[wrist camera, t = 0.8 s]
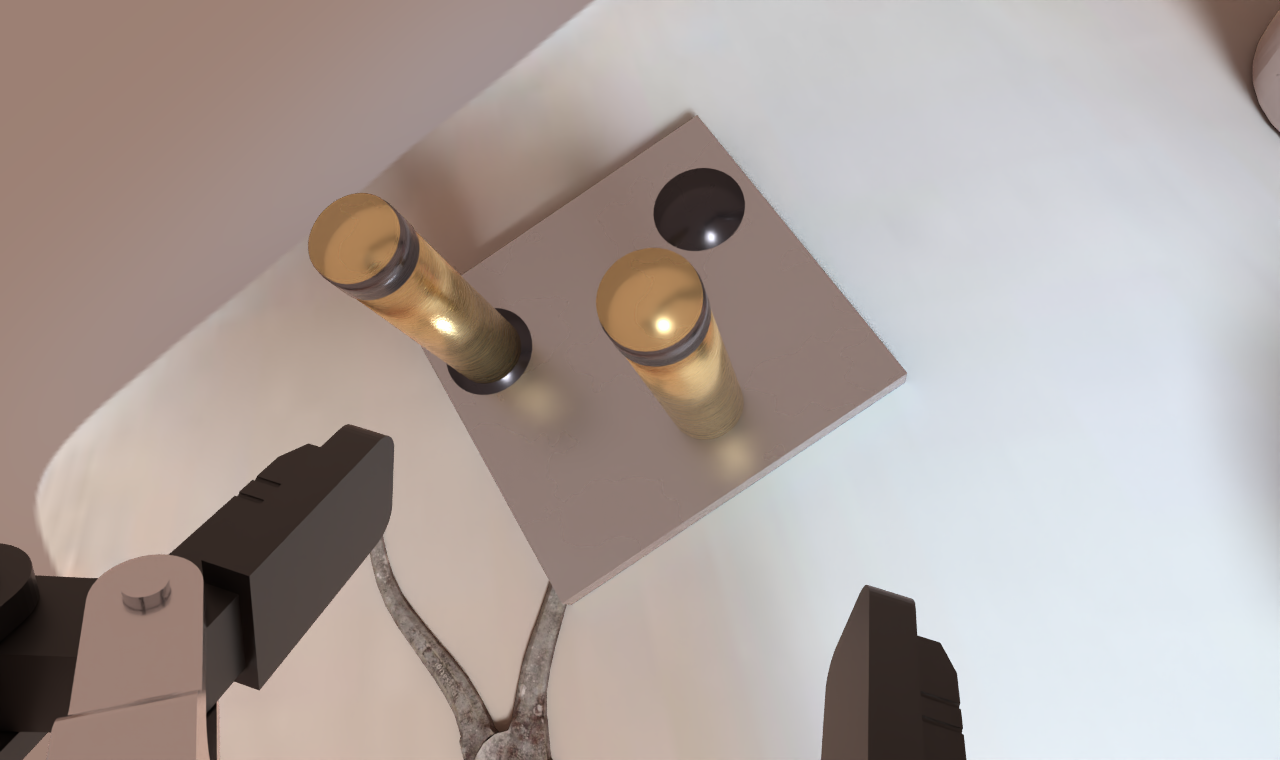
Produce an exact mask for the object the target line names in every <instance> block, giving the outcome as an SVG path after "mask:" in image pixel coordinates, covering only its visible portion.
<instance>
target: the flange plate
mask: <svg viewBox="0 0 1280 760" xmlns="http://www.w3.org/2000/svg"><path fill="white" fill-rule="evenodd" d="M645 248H662V249H667V250H670V251H673V252H675V253H677V254H679V255H681V256H682V257H684V258H685V259H686V260H687V261H688V262H689V263H690V264H691V265H692V266H693V267H694V268H695V269H696V271H697V272H698V274H699V275H700V278H701V280H702V282H703V285H704V288H705V290H706V293H707V296H708V298H709V302H710V307H711V311H712V314H713V316H714V319H715V322H716V324H717V327H718V330H719V332H720V335H721V337H722V340H723V343H724V345H725V348H726V351H727V353H728V356H729V359H730V361H731V364H732V367H733V369H734V372H735V374H736V377H737V380H738V382H739V385H740V388H741V390H742V394H743V400H744V405H743V411H742V414H741V417H740V419H739V421H738V422H737V424H736V425H735V426H734V427H733V428H732V429H731V430H730V431H729V432H728V433H726V434H724V435H723V436H720V437H718V438H714V439H709V440H701V439H696V438H692V437H690V436H688V435H686V434H684V433H683V432H682V431H681V430H680V429H679V428H678V427H677V426H676V425H675V423H674V422H673V421H672V419H671V418H670V417H669V415H668V414H667V413H666V411H665V410H664V408H663V407H662V406H661V404H660V403H659V402H658V400H657V399H656V398H655V396H654V395H653V394H652V392H651V391H650V390H649V388H648V387H647V386H646V384H645V383H644V381H643V380H642V379H641V377H640V376H639V375H638V373H637V372H636V371H635V369H634V368H633V367H632V365H631V364H630V363H629V361H628V360H627V359H626V357H625V356H624V355H623V354H621V353H620V352H619V350H618V349H617V348H616V346H615V345H614V344H613V342H612V341H611V340H610V338H609V337H608V336H607V334H606V333H605V332H604V330H603V328H602V326H601V324H600V321H599V318H598V314H597V310H596V296H597V290H598V287H599V284H600V282H601V280H602V278H603V276H604V275H605V273H606V272H607V270H608V269H609V268H610V267H611V266H612V265H613V264H614V263H615V262H616V261H617V260H619V259H620V258H622V257H623V256H625V255H627V254H629V253H631V252H633V251H636V250H640V249H645ZM461 276H462V277H463V278H464V279H465V280H466V281H467V282H468V283H469V284H470V285H471V286H472V287H473V288H474V289H475V290H476V291H477V292H478V293H479V294H480V295H481V296H482V297H483V298H484V299H485V300H486V301H487V302H488V303H490V304H491V305H492V306H493V307H494V308H495V309H496V310H497V311H498V312H499V313H500V314H501V315H502V316H503V317H504V318H505V319H506V320H507V321H508V322H509V323H510V324H511V325H512V326H513V327H514V328H515V329H516V331H517V332H518V334H519V337H520V340H521V353H520V357H519V360H518V362H517V364H516V366H515V367H514V369H513V370H512V371H511V372H510V373H509V374H508V375H507V376H506V377H504V378H502V379H501V380H499V381H496V382H493V383H488V384H481V383H476V382H473V381H471V380H469V379H468V378H466V377H465V376H464V375H462V374H461V373H459V372H458V371H457V370H455V369H454V368H452V367H451V366H450V365H448V364H447V363H445V362H444V361H443V360H441V359H440V358H438V357H437V356H436V355H434V354H433V353H431V352H430V351H429V350H427V349H426V348H424V347H423V346H422V345H421V347H422V348H423V350H424V352H425V354H426V356H427V358H428V359H429V361H430V363H431V365H432V367H433V369H434V370H435V372H436V374H437V376H438V378H439V379H440V381H441V383H442V385H443V387H444V389H445V390H446V392H447V394H448V396H449V398H450V400H451V401H452V403H453V405H454V407H455V409H456V411H457V412H458V414H459V416H460V418H461V420H462V422H463V423H464V425H465V427H466V429H467V431H468V433H469V434H470V436H471V438H472V440H473V442H474V444H475V445H476V447H477V449H478V451H479V453H480V455H481V456H482V458H483V460H484V462H485V464H486V466H487V467H488V469H489V471H490V473H491V475H492V476H493V478H494V480H495V482H496V484H497V486H498V487H499V489H500V491H501V493H502V495H503V497H504V498H505V500H506V502H507V504H508V506H509V508H510V509H511V511H512V513H513V515H514V517H515V519H516V520H517V522H518V524H519V526H520V528H521V530H522V531H523V533H524V535H525V537H526V539H527V541H528V542H529V544H530V546H531V548H532V550H533V552H534V553H535V555H536V557H537V559H538V561H539V563H540V564H541V566H542V568H543V570H544V572H545V573H546V575H547V577H548V579H549V581H550V583H551V584H552V586H553V588H554V590H555V592H556V594H557V595H558V597H559V599H560V601H561V603H562V604H568V605H572V604H573V603H575V602H576V601H578V600H579V599H581V598H582V597H584V596H585V595H587V594H588V593H590V592H591V591H593V590H594V589H596V588H597V587H599V586H600V585H602V584H603V583H605V582H606V581H608V580H609V579H611V578H612V577H614V576H615V575H617V574H618V573H620V572H621V571H623V570H624V569H626V568H627V567H629V566H630V565H632V564H633V563H635V562H636V561H638V560H639V559H641V558H642V557H644V556H645V555H647V554H648V553H650V552H651V551H653V550H654V549H656V548H657V547H659V546H660V545H662V544H663V543H665V542H666V541H668V540H669V539H671V538H672V537H674V536H675V535H677V534H678V533H680V532H681V531H683V530H684V529H686V528H687V527H689V526H690V525H692V524H693V523H695V522H696V521H698V520H699V519H701V518H702V517H704V516H705V515H707V514H708V513H710V512H711V511H713V510H714V509H716V508H717V507H719V506H720V505H722V504H723V503H725V502H726V501H728V500H729V499H731V498H732V497H734V496H735V495H737V494H738V493H740V492H741V491H743V490H744V489H746V488H747V487H749V486H750V485H752V484H753V483H755V482H756V481H758V480H759V479H761V478H762V477H764V476H765V475H767V474H768V473H770V472H771V471H773V470H774V469H776V468H777V467H779V466H780V465H782V464H783V463H785V462H786V461H788V460H789V459H791V458H792V457H794V456H795V455H797V454H798V453H800V452H801V451H803V450H804V449H806V448H807V447H809V446H810V445H812V444H813V443H815V442H816V441H818V440H819V439H821V438H822V437H824V436H825V435H827V434H828V433H830V432H831V431H833V430H834V429H836V428H837V427H839V426H840V425H842V424H843V423H845V422H846V421H848V420H849V419H851V418H852V417H854V416H855V415H857V414H858V413H860V412H861V411H863V410H864V409H866V408H867V407H869V406H870V405H872V404H873V403H875V402H876V401H878V400H879V399H881V398H882V397H884V396H885V395H887V394H888V393H890V392H891V391H893V390H894V389H896V388H897V387H899V386H900V385H902V384H903V383H905V380H906V376H907V372H906V371H905V370H904V369H903V367H902V366H901V365H900V364H899V363H898V361H897V360H896V359H895V358H894V356H893V355H892V354H891V353H890V351H889V350H888V349H887V348H886V347H885V345H884V344H883V343H882V342H881V340H880V339H879V338H878V337H877V336H876V334H875V333H874V332H873V331H872V329H871V328H870V327H869V326H868V324H867V323H866V322H865V321H864V320H863V318H862V317H861V316H860V315H859V313H858V312H857V311H856V310H855V309H854V307H853V306H852V305H851V304H850V302H849V301H848V300H847V299H846V297H845V296H844V295H843V294H842V293H841V291H840V290H839V289H838V288H837V286H836V285H835V284H834V283H833V282H832V280H831V279H830V278H829V277H828V275H827V274H826V273H825V272H824V271H823V269H822V268H821V267H820V266H819V264H818V263H817V262H816V261H815V259H814V258H813V257H812V256H811V255H810V253H809V252H808V251H807V250H806V248H805V247H804V246H803V245H802V244H801V242H800V241H799V240H798V239H797V237H796V236H795V235H794V234H793V232H792V231H791V230H790V229H789V228H788V226H787V225H786V224H785V223H784V221H783V220H782V219H781V218H780V217H779V215H778V214H777V213H776V212H775V210H774V209H773V208H772V207H771V205H770V204H769V203H768V202H767V201H766V199H765V198H764V197H763V196H762V194H761V193H760V192H759V191H758V190H757V188H756V187H755V186H754V185H753V183H752V182H751V181H750V180H749V179H748V177H747V176H746V175H745V174H744V172H743V171H742V170H741V169H740V167H739V166H738V165H737V164H736V163H735V161H734V160H733V159H732V158H731V156H730V155H729V154H728V153H727V152H726V150H725V149H724V148H723V147H722V145H721V144H720V143H719V142H718V140H717V139H716V138H715V137H714V136H713V134H712V133H711V132H710V131H709V129H708V128H707V127H706V126H705V125H704V123H703V122H702V121H701V120H700V118H699V117H698V116H695V117H694V118H692V119H691V120H689V121H688V122H686V123H685V124H684V125H682V126H681V127H679V128H678V129H676V130H675V131H673V132H672V133H670V134H669V135H667V136H666V137H664V138H663V139H661V140H660V141H658V142H657V143H656V144H654V145H653V146H651V147H650V148H648V149H647V150H645V151H644V152H642V153H641V154H639V155H638V156H636V157H635V158H633V159H632V160H630V161H629V162H628V163H626V164H625V165H623V166H622V167H620V168H619V169H617V170H616V171H614V172H613V173H611V174H610V175H608V176H607V177H605V178H604V179H602V180H601V181H600V182H598V183H597V184H595V185H594V186H592V187H591V188H589V189H588V190H586V191H585V192H583V193H582V194H580V195H579V196H577V197H576V198H574V199H573V200H572V201H570V202H569V203H567V204H566V205H564V206H563V207H561V208H560V209H558V210H557V211H555V212H554V213H552V214H551V215H549V216H548V217H547V218H545V219H544V220H542V221H541V222H539V223H538V224H536V225H535V226H533V227H532V228H530V229H529V230H527V231H526V232H524V233H523V234H521V235H520V236H519V237H517V238H516V239H514V240H513V241H511V242H510V243H508V244H507V245H505V246H504V247H502V248H501V249H499V250H498V251H496V252H495V253H493V254H492V255H491V256H489V257H488V258H486V259H485V260H483V261H482V262H480V263H479V264H477V265H476V266H474V267H473V268H471V269H470V270H468V271H467V272H465V273H464V274H463V275H461Z"/></svg>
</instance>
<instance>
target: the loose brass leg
mask: <svg viewBox="0 0 1280 760" xmlns="http://www.w3.org/2000/svg"><path fill="white" fill-rule="evenodd" d="M596 310H597V314H598V318H599V321H600V324H601V326H602V328H603V330H604V332H605V333H606V334H607V336H608V337H609V338H610V340H611V341H612V342H613V344H614V345H615V346H616V348H617V349H618V350H619V352H620V353H621V354H623V355H624V356H625V357H626V359H627V360H628V361H629V363H630V364H631V365H632V367H633V368H634V369H635V371H636V372H637V373H638V375H639V376H640V377H641V379H642V380H643V381H644V383H645V384H646V386H647V387H648V388H649V390H650V391H651V392H652V394H653V395H654V396H655V398H656V399H657V400H658V402H659V403H660V404H661V406H662V407H663V408H664V410H665V411H666V413H667V414H668V415H669V417H670V418H671V419H672V421H673V422H674V423H675V425H676V426H677V427H678V428H679V429H680V430H681V431H682V432H683V433H684V434H686V435H688V436H690V437H692V438H696V439H701V440H709V439H714V438H718V437H720V436H723V435H724V434H726V433H728V432H729V431H730V430H731V429H732V428H733V427H734V426H735V425H736V424H737V422H738V421H739V419H740V417H741V414H742V411H743V405H744V400H743V394H742V390H741V388H740V385H739V382H738V380H737V377H736V374H735V372H734V369H733V367H732V364H731V361H730V359H729V356H728V353H727V351H726V348H725V345H724V343H723V340H722V337H721V335H720V332H719V330H718V327H717V324H716V322H715V319H714V316H713V314H712V311H711V307H710V302H709V298H708V296H707V293H706V290H705V288H704V285H703V282H702V280H701V278H700V275H699V274H698V272H697V271H696V269H695V268H694V267H693V266H692V265H691V264H690V263H689V262H688V261H687V260H686V259H685V258H684V257H682V256H681V255H679V254H677V253H675V252H673V251H670V250H667V249H662V248H645V249H640V250H636V251H633V252H631V253H629V254H627V255H625V256H623V257H622V258H620V259H619V260H617V261H616V262H615V263H614V264H613V265H612V266H611V267H610V268H609V269H608V270H607V272H606V273H605V275H604V276H603V278H602V280H601V282H600V284H599V287H598V290H597V296H596Z"/></svg>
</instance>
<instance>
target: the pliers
mask: <svg viewBox="0 0 1280 760" xmlns="http://www.w3.org/2000/svg"><path fill="white" fill-rule="evenodd" d="M370 557H371V562H372V566H373V570H374V574H375V578H376V582H377V585H378V588H379V590H380V593H381V595H382V598H383V600H384V603H385V605H386V607H387V609H388V611H389V612H390V614H391V616H392V618H393V619H394V621H395V623H396V624H397V626H398V628H399V629H400V630H401V632H402V633H403V635H404V636H405V638H406V639H407V641H408V642H409V643H410V645H411V646H412V648H413V649H414V651H415V652H416V654H417V655H418V656H419V658H420V659H421V661H422V662H423V664H424V665H425V666H426V668H427V669H428V671H429V672H430V673H431V675H432V676H433V678H434V679H435V681H436V683H437V684H438V686H439V687H440V689H441V691H442V692H443V694H444V695H445V697H446V699H447V701H448V703H449V705H450V707H451V709H452V711H453V712H454V714H455V718H456V721H457V724H458V728H459V731H460V735H461V738H460V746H461V750H462V754H463V759H464V760H550V759H551V752H550V741H549V729H548V719H547V686H548V680H549V673H550V667H551V663H552V658H553V654H554V649H555V645H556V642H557V638H558V634H559V631H560V627H561V623H562V620H563V616H564V612H565V608H566V605H567V604H562V603H561V601H560V599H559V597H558V595H557V594H556V592H555V590H554V588H553V586H552V584H551V583H550V584H549V587H548V591H547V594H546V597H545V600H544V603H543V606H542V608H541V611H540V614H539V617H538V620H537V623H536V625H535V628H534V631H533V633H532V636H531V639H530V642H529V645H528V648H527V651H526V655H525V658H524V661H523V664H522V669H521V674H520V679H519V684H518V688H517V694H516V699H515V705H514V711H513V716H512V721H511V724H510V727H509V730H508V731H504V732H501V733H499V732H498V731H497V729H496V728H495V727H494V724H493V721H492V719H491V717H490V715H489V713H488V711H487V709H486V708H485V706H484V704H483V702H482V700H481V698H480V697H479V695H478V693H477V692H476V690H475V688H474V687H473V685H472V684H471V682H470V680H469V679H468V677H467V676H466V675H465V673H464V672H463V671H462V669H461V668H460V667H459V666H458V664H457V663H456V662H455V660H454V659H453V658H452V657H451V656H450V655H449V654H448V652H447V651H446V650H445V649H444V648H443V647H442V646H441V645H440V643H439V642H438V641H437V640H436V638H435V637H434V636H433V635H432V634H431V632H430V631H429V630H428V629H427V627H426V626H425V625H424V624H423V622H422V621H421V620H420V618H419V617H418V616H417V615H416V613H415V612H414V611H413V609H412V608H411V606H410V605H409V604H408V602H407V601H406V599H405V598H404V596H403V595H402V592H401V590H400V588H399V586H398V584H397V582H396V580H395V578H394V576H393V573H392V569H391V566H390V563H389V560H388V557H387V552H386V548H385V543H384V538H383V536H382V537H381V539H380V541H379V542H378V543H377V545H376V546H375V547H374V548H373V550H372V551H371V552H370Z"/></svg>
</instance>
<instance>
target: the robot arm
mask: <svg viewBox="0 0 1280 760" xmlns="http://www.w3.org/2000/svg"><path fill="white" fill-rule="evenodd" d="M1253 85H1254V88H1255V92H1256V95H1257V98H1258V102H1259V104H1260V106H1261V107H1262V109H1263V111H1264V112H1265V114H1266V116H1267V117H1268V119H1269V121H1270V122H1271V124H1272V125H1273V126H1274V127H1275V128H1276V129H1277V130H1278V131H1279V132H1280V9H1279V11H1278V12H1277V13H1276V15H1275V16H1274V18H1273V19H1272V21H1271V22H1270V24H1269V25H1268V27H1267V28H1266V30H1265V32H1264V33H1263V35H1262V37H1261V38H1260V40H1259V42H1258V45H1257V48H1256V52H1255V55H1254V59H1253ZM393 463H394V443H393V440H392V438H391V437H389V436H386V435H383V434H380V433H377V432H373V431H370V430H367V429H363V428H360V427H357V426H354V425H350V424H348V425H345V426H343V427H342V428H341V429H339V430H338V431H337V432H336V433H335V434H334V435H333V436H332V437H331V438H330V439H329V440H328V441H327V442H326V443H325V444H324V445H322V446H321V447H318V446H315V445H311V444H306V445H304V446H302V447H300V448H297V449H295V450H293V451H291V452H288V453H286V454H284V455H282V456H279V457H278V458H277V459H276V460H274V461H273V462H272V463H271V464H270V465H269V466H268V467H267V468H265V469H264V470H263V471H262V472H261V473H260V474H259V475H258V476H257V478H256V480H255V481H254V480H252V481H251V482H250V483H249V484H248V485H246V486H245V487H244V488H243V489H242V490H241V491H240V492H239V495H238V496H234V497H233V498H232V499H231V500H230V501H228V502H227V503H226V504H225V505H224V506H223V507H222V508H221V509H220V510H218V511H217V512H216V513H215V514H214V515H213V516H212V517H211V518H209V519H208V520H207V521H206V522H205V523H204V524H203V525H202V526H200V527H199V528H198V529H197V530H196V531H195V532H194V533H193V534H192V535H190V536H189V537H188V538H187V539H186V540H185V541H184V542H183V543H181V544H180V545H179V546H178V547H177V548H176V549H175V550H174V551H172V552H171V553H170V554H169V555H160V554H158V555H148V556H142V557H138V558H134V559H131V560H128V561H126V562H123V563H121V564H119V565H117V566H115V567H113V568H111V569H110V570H108V571H107V572H105V573H104V574H103V575H102V576H101V577H99V578H75V577H55V576H35V574H34V570H33V566H32V562H31V560H30V558H29V556H28V555H27V554H26V553H25V552H24V551H22V550H21V549H19V548H17V547H14V546H11V545H6V544H0V760H23V759H24V757H25V756H26V755H27V754H28V753H29V752H30V751H31V750H32V749H33V748H34V747H35V745H37V744H38V743H39V741H40V740H41V739H42V738H43V737H44V736H45V735H46V734H47V733H48V732H51V736H50V741H49V747H48V752H47V758H46V760H220V717H219V701H218V699H219V698H220V697H221V696H222V695H223V694H224V692H225V691H226V690H227V689H228V688H229V687H230V685H231V684H232V683H233V682H237V683H240V684H243V685H246V686H249V687H251V688H254V689H257V690H260V689H261V688H262V687H263V685H264V684H265V683H266V682H267V680H268V679H269V678H270V677H271V675H272V674H273V673H274V672H275V670H276V669H277V668H278V667H279V665H280V664H281V663H282V662H283V660H284V659H285V658H286V657H287V655H288V654H289V653H290V652H291V650H292V649H293V648H294V647H295V645H296V644H297V643H298V642H299V641H300V639H301V638H302V637H303V636H304V634H305V633H306V632H307V631H308V629H309V628H310V627H311V626H312V624H313V623H314V622H315V621H316V619H317V618H318V617H319V616H320V614H321V613H322V612H323V611H324V609H325V608H326V607H327V606H328V604H329V603H330V602H331V601H332V599H333V598H334V597H335V596H336V594H337V593H338V592H339V591H340V589H341V588H342V587H343V586H344V585H345V583H346V582H347V581H348V580H349V578H350V577H351V576H352V575H353V573H354V572H355V571H356V570H357V568H358V567H359V566H360V565H361V563H362V562H363V561H364V560H365V558H366V557H367V556H368V555H369V553H370V552H371V551H372V550H373V548H374V547H375V546H376V545H377V543H378V542H379V541H380V539H381V537H382V536H383V534H384V532H385V530H386V527H387V525H388V522H389V519H390V515H391V510H392V494H393ZM959 705H960V697H959V688H958V679H957V673H956V671H955V669H954V667H953V665H952V663H951V662H950V660H949V658H948V656H947V654H946V652H945V650H944V649H943V647H942V645H941V643H939V642H936V641H933V640H930V639H927V638H923V637H920V636H917V624H916V608H915V602H914V600H913V599H911V598H908V597H905V596H901V595H898V594H895V593H892V592H888V591H885V590H882V589H879V588H875V587H872V586H869V585H865V586H864V587H863V589H862V590H861V592H860V594H859V597H858V599H857V601H856V603H855V606H854V608H853V610H852V612H851V615H850V617H849V619H848V622H847V624H846V626H845V628H844V631H843V633H842V635H841V637H840V640H839V642H838V644H837V646H836V649H835V651H834V654H833V657H832V660H831V664H830V668H829V672H828V677H827V683H826V693H825V708H824V723H823V739H822V754H821V760H966V752H965V743H964V735H963V734H962V729H963V725H962V716H961V709H959Z"/></svg>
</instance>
